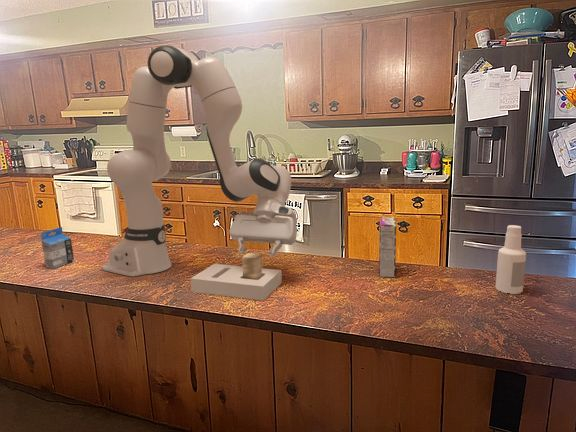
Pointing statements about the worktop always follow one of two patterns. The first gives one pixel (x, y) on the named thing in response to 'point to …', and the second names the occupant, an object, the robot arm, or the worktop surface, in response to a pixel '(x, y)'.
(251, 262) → the square peg
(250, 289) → the socket board
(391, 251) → the candy bar box
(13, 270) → the worktop surface
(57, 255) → the label tape box
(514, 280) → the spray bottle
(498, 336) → the worktop surface
